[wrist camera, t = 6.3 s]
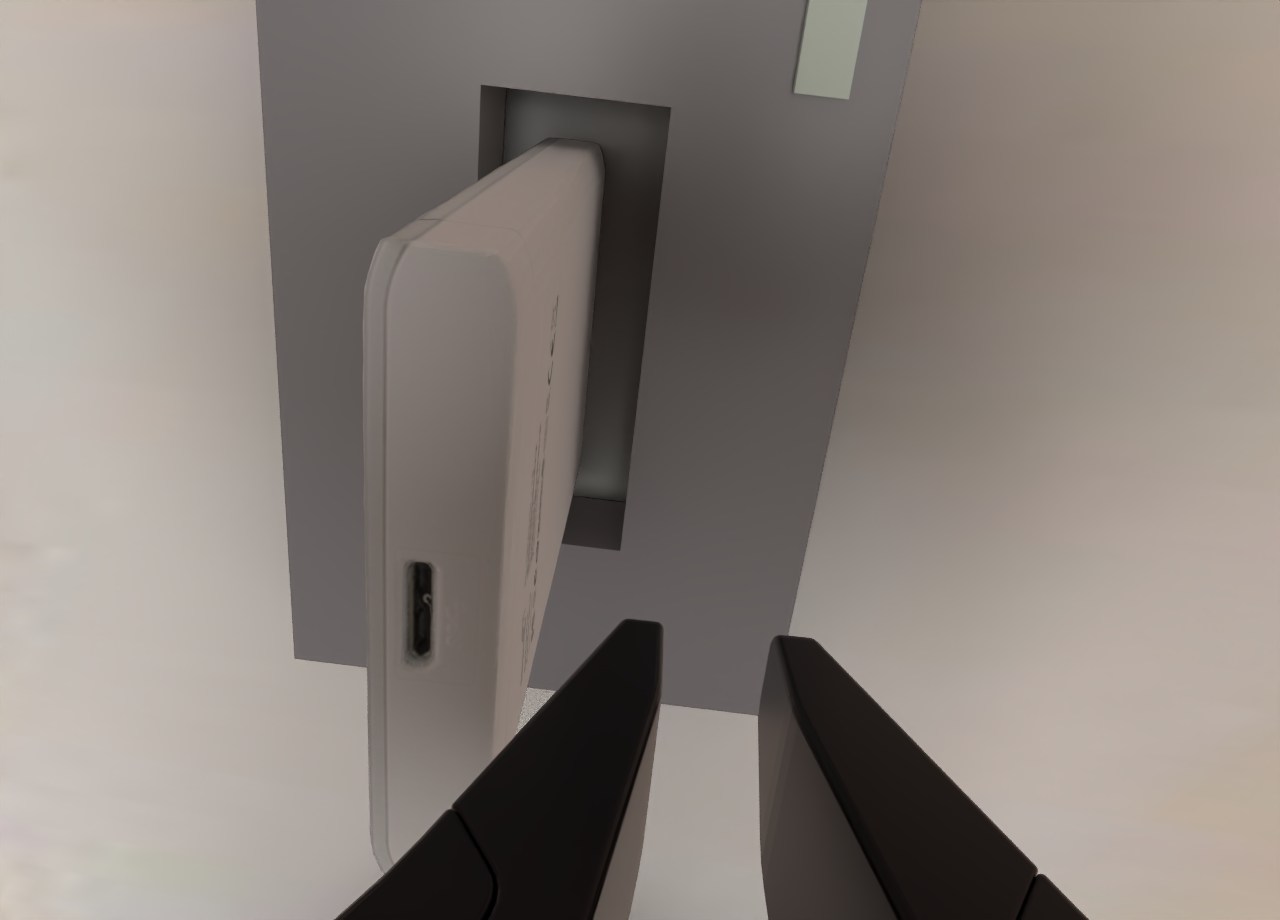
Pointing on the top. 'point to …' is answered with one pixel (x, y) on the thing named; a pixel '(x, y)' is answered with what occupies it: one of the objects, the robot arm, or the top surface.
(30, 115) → the top surface
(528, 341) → the hard drive
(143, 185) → the top surface
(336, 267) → the drive dock
